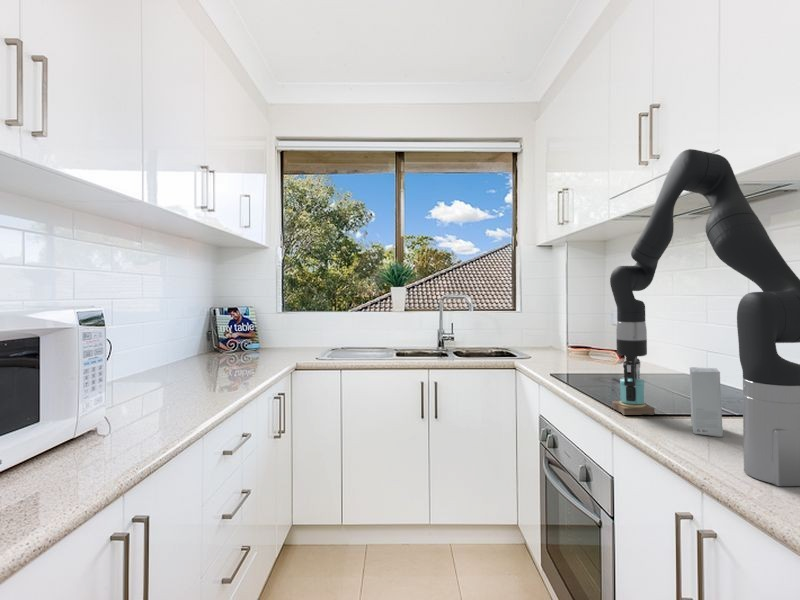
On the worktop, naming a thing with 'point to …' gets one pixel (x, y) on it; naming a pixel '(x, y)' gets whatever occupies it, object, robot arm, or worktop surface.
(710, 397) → the skincare box
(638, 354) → the robot arm
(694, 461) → the worktop surface
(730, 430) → the worktop surface
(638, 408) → the board
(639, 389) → the cap
